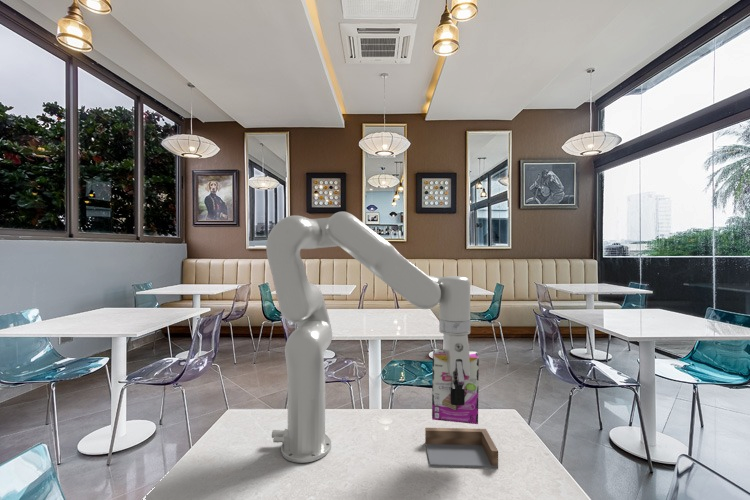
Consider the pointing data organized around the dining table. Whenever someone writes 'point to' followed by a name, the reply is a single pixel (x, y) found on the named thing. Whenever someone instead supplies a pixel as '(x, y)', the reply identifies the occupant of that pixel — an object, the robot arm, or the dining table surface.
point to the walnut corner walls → (463, 439)
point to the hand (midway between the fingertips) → (454, 398)
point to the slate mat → (457, 456)
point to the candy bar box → (443, 391)
